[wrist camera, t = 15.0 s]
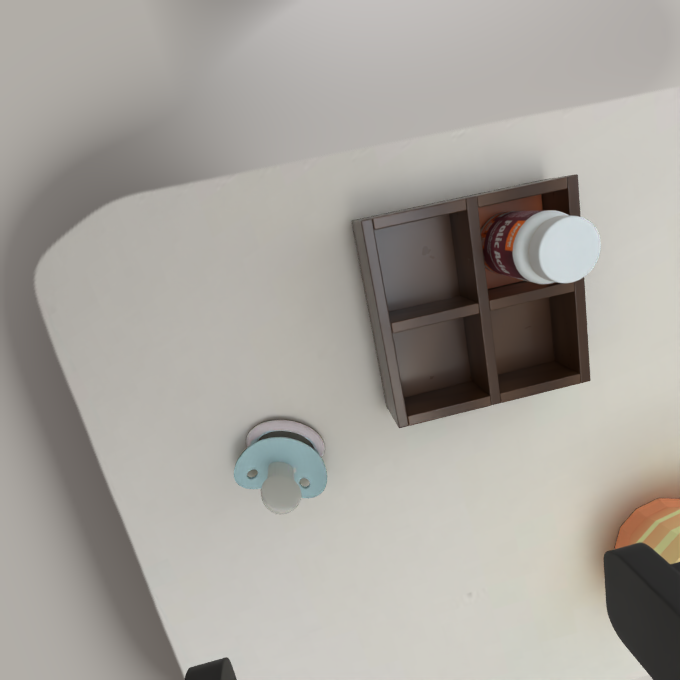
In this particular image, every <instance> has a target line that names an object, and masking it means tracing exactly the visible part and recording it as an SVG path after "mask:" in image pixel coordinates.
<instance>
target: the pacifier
mask: <svg viewBox="0 0 680 680" xmlns="http://www.w3.org/2000/svg"><path fill="white" fill-rule="evenodd" d="M274 431H289V432H293V433H297V434H299V435H301V436H304V437H305V438H306V439H308V440H309V441H310V442H311V443H312V445H313V447H314V449H313V448H311V447H310V446H309V445H307V444H305V443H303V442H301V441H299V440H296V439H292V438H287V437H270V438H266V439H262V440H260V441H258V439H259V438H260V437H261V436H263V435H264V434H267V433H269V432H274ZM247 447H248V448H247V449H246V450H245V451H244V452H243V453H242V454H241V456H240V457H239V459H238V461H237V463H236V465H235V469H234V478H235V481H236V482H237V483H238V485H240V486H241V487H244V488H247V489H259V488H261V497H262V501H263V503H264V505H265V506H266V507H267V509H269V510H270V511H271V512H273V513H276V514H286V513H289V512H291V511H293V510H294V509H295V508H296V507H297V506H298V504H299V503H300V500H301V498H313V497H315V496H318V495H319V494H321V493H322V492H323V490H324V489H325V487H326V483H327V471H326V468H325V465H324V462H323V460H322V456H323V454H324V451H325V445H324V442H323V439H322V438H321V437H320V436H319V434H318V433H317V432H315V431H314V430H313V429H312V428H310V427H308V426H306V425H304V424H301V423H298V422H294V421H288V420H272V421H267V422H263V423H261V424H259V425H257V426H255V427H254V428H253V429H252V430H251V431H250V432H249V434H248V436H247ZM253 469H255V470H257V471H258V474H257V475H256V476H255V477H248V476H247V473H248V472H249V471H250V470H253ZM302 478H306V479H308V480H309V482H310V484H309V486H307V487H304V486H302V485H301V484H300V480H301V479H302Z"/></svg>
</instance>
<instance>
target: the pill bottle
mask: <svg viewBox="0 0 680 680" xmlns="http://www.w3.org/2000/svg"><path fill="white" fill-rule="evenodd" d="M481 238H482V246H483V255H484V263H485V267H486V268H488V269H489V270H490V271H492V272H495V273H497V274H501V275H505V276H509V277H513V278H517V279H521V280H525V281H529V282H532V283H537V284H550V283H554V282H558V283H572V282H575V281H578V280H580V279H581V278H583V277H585V276H586V275H587V274H588V273H589V272H590V271H591V270H592V269H593V268H594V266H595V264H596V262H597V260H598V258H599V255H600V249H601V240H600V236H599V233H598V230H597V229H596V227H595V226H594V225H593V224H592V223H591V222H590V221H589V220H587V219H585V218H583V217H579V216H569V215H568V214H566V213H563V212H560V211H556V210H543V211H509V212H502V213H499V214H497V215H495V216H493V217H492V218H490V219H489V220H488V221H487V222H486V223H485V224H484V226H483V227H482V229H481Z"/></svg>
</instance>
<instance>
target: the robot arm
mask: <svg viewBox="0 0 680 680" xmlns="http://www.w3.org/2000/svg"><path fill="white" fill-rule="evenodd" d="M604 572H605V589H606V605H607V612H608V615H609V618H610V621H611V623H612V626H613V628H614V630H615V631H616V633H617V635H618V636H619V638H620V639H621V641H622V642H623V643H624V645H625V646H626V647H627V648H628V649H629V651H630V652H631V653H632V654H633V656H634V657H635V658H636V659H637V660H638V662H639V663H640V664H641V665H642V666H643V668H644V669H645V670H646V671H647V672H648V674H649V675H650V676H651V677H652V679H653V680H680V562H677V563H673V564H669V563H668V562H667V561H666V560H665V559H664V558H663V557H661V556H660V555H659V554H658V553H657V552H656V551H654V550H653V549H652V548H651V547H650V546H648V545H647V544H645V543H641V542H639V543H635V544H632V545H628V546H625V547H621V548H618V549H614V550H611V551H607V552H606V553H605V554H604ZM185 680H237V679H236V676H235V673H234V670H233V667H232V665H231V662H230V660H229V659H228V658H227V657H226V658H223V659H219V660H215V661H212V662H208V663H205V664H201V665H198V666H194V667H191V668H189V669H188V671H187V673H186V677H185Z"/></svg>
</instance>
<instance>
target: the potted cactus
mask: <svg viewBox="0 0 680 680" xmlns="http://www.w3.org/2000/svg"><path fill="white" fill-rule="evenodd" d="M639 542H641V543H645V544H647V545H648V546H650V547H651V548H652V549H653V550H654V551H656V552H657V553H658V554H659V555H660V556H661V557H663V558H664V559H665V560H666V561H667V562H668V563H669V564H673V563H677V562H680V499H666V498H658V499H656V500H654V501H652V502H650V503H647V504H645V505H643V506H641V507H639V508H637V509H636V510H635V511H634V512H633V513H632V514H631V516H630V517H629V518H628V519H627V520H626V521H625V522H624V524H623V525H622V526H621V527H620V530H619V534H618V537H617V541H616V545H615V549H618V548H621V547H625V546H628V545H632V544H635V543H639Z"/></svg>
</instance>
